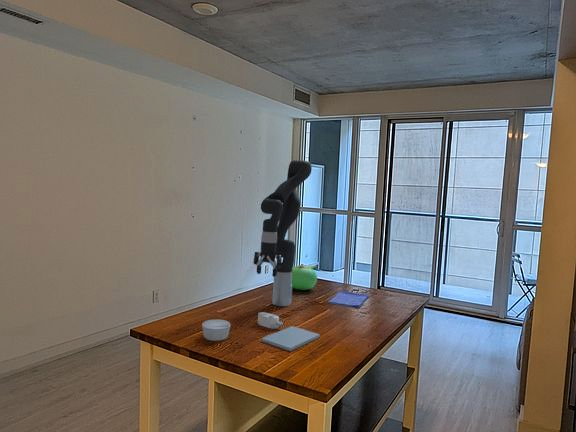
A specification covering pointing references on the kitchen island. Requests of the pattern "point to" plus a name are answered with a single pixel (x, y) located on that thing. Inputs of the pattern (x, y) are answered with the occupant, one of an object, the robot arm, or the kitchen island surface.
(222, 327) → the ramekin
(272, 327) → the rounded plug
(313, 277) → the green apple
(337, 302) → the dish towel
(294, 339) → the cutting board
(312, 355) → the kitchen island surface
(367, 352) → the kitchen island surface
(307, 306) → the kitchen island surface
